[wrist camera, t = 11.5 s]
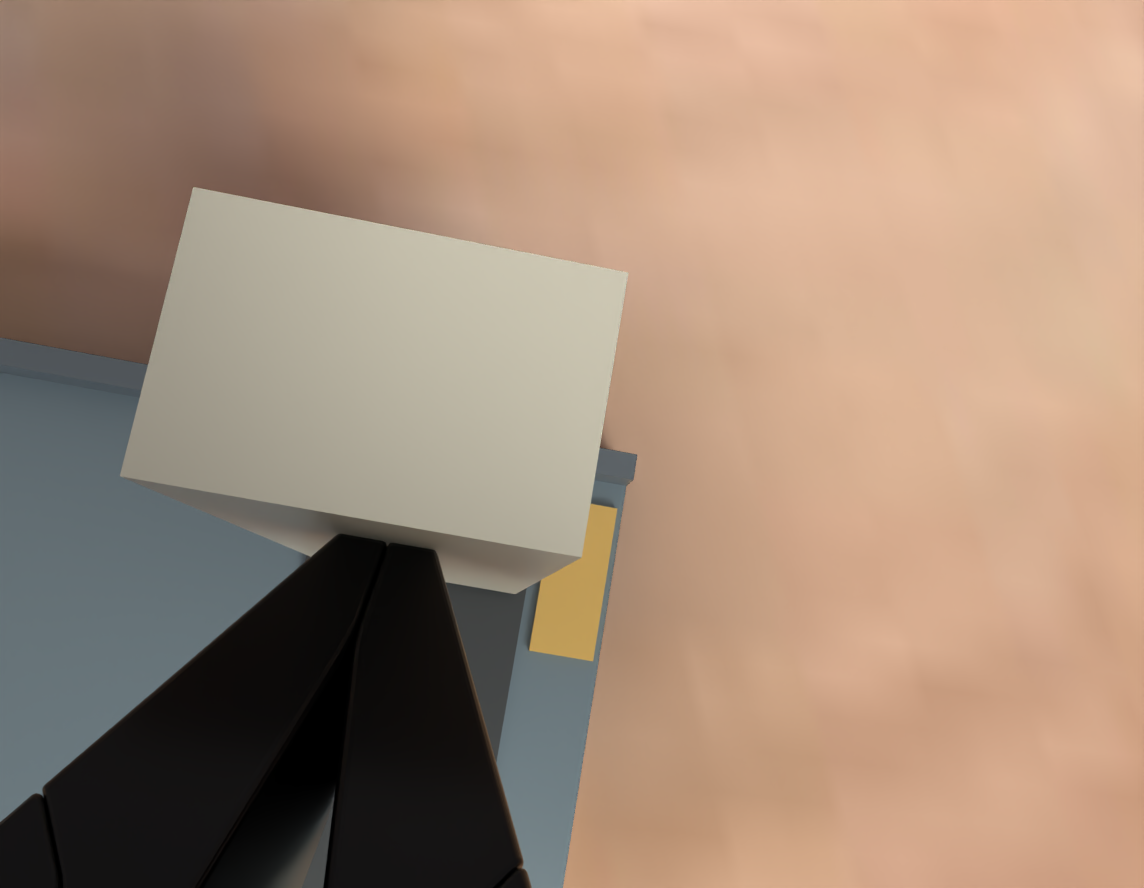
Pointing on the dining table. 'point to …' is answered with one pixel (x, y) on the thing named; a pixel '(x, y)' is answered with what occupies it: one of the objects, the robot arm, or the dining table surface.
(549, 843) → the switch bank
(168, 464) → the cream tall block
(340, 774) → the robot arm
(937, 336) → the dining table surface
